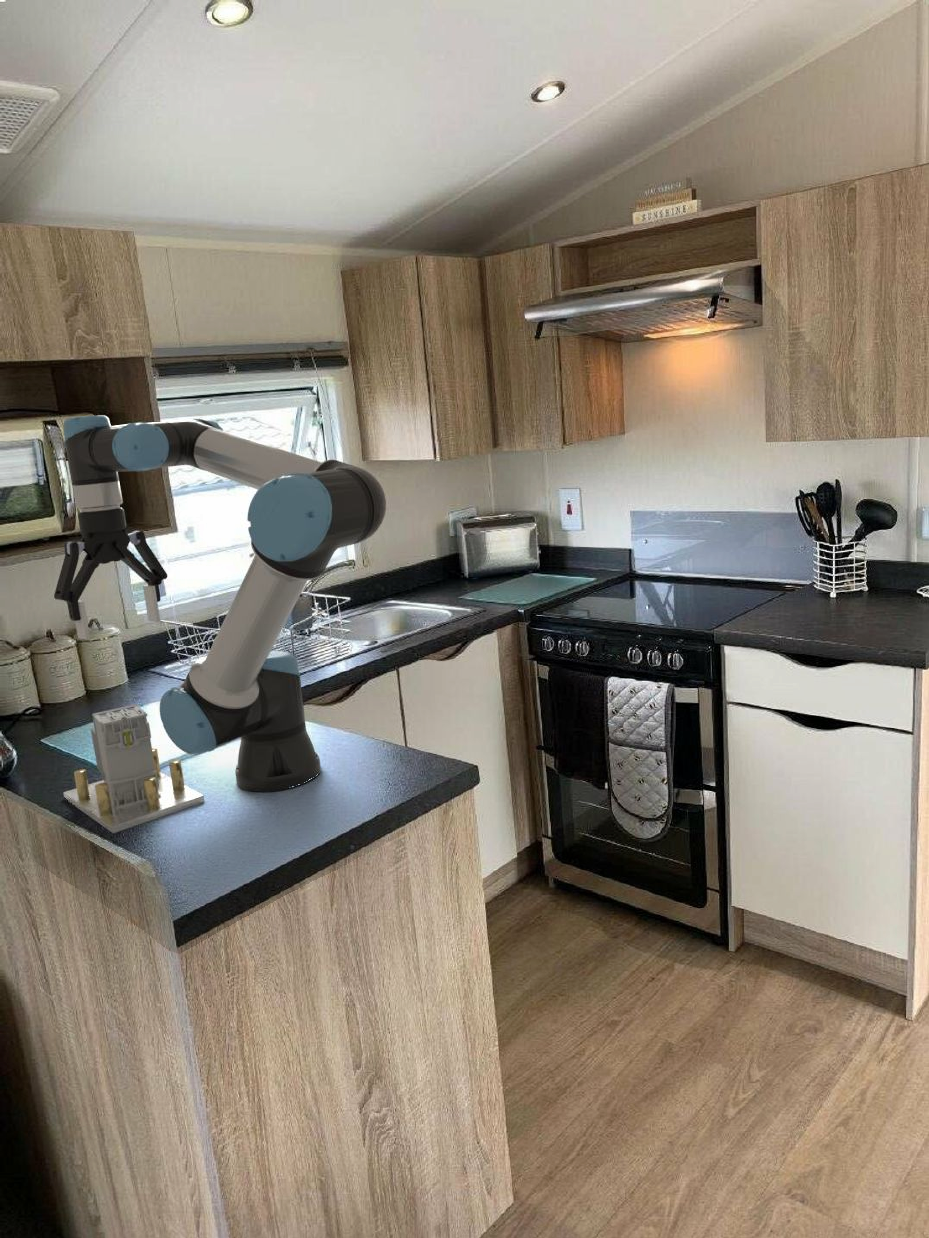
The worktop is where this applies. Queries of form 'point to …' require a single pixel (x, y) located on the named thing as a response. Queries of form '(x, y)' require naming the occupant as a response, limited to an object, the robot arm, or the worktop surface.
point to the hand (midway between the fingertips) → (120, 629)
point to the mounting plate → (103, 811)
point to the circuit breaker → (124, 753)
